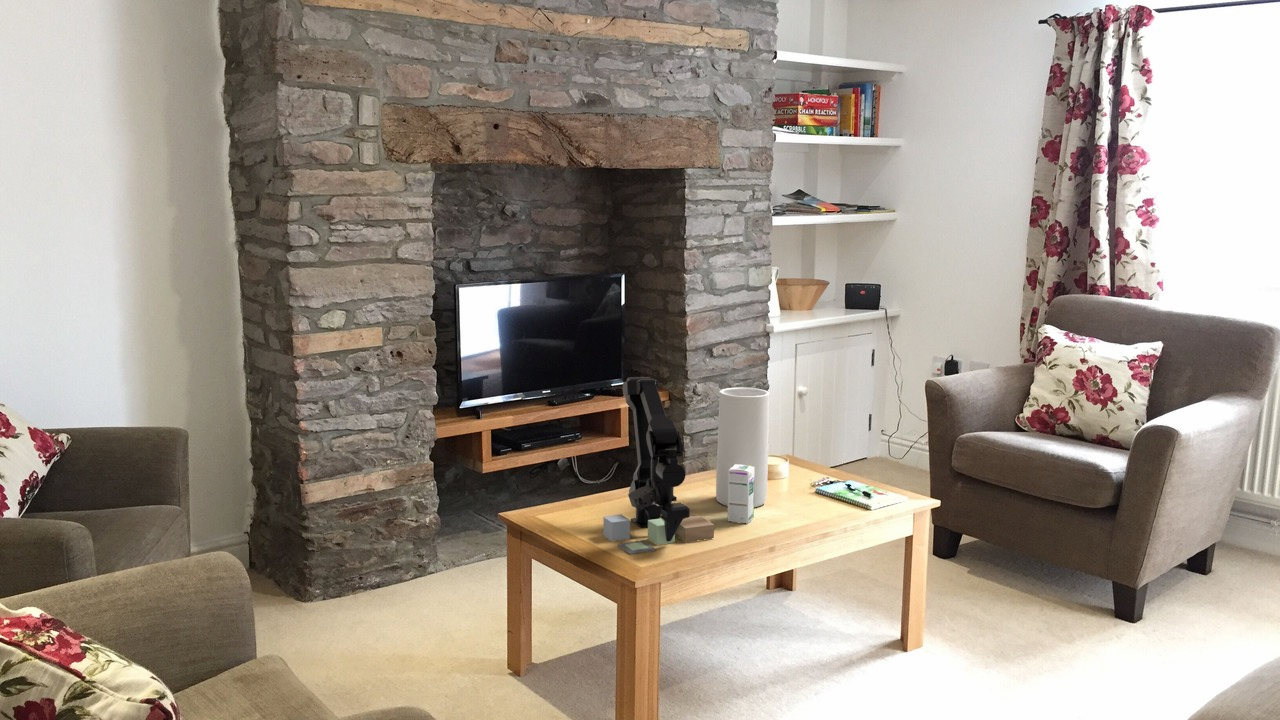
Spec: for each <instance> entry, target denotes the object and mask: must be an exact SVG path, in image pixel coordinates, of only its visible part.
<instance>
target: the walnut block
mask: <svg viewBox="0 0 1280 720" xmlns="http://www.w3.org/2000/svg"><path fill="white" fill-rule="evenodd" d="M675 537H677V539H679V540H680V541H682V542H683V541H684V543H686V542H687V543H692V542H693V541H695V542H698V541H697V540H702V541H705V540H704V539H710V540H713V539H712V538H714V539H715V524H714V523H712V522H711V521H709V520H707V519H706V518H705V517H703V516H702V515H695V516H690V517H689V518H685V519H683V520H682V522H681V523H680V525H679V527H678V528H677V530H676V532H675Z"/></svg>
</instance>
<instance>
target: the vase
mask: <svg viewBox="0 0 1280 720" xmlns="http://www.w3.org/2000/svg"><path fill="white" fill-rule="evenodd" d="M718 398H719V401H718V423H717V424H718V426H717V449H716V450H717V453H716V454H717V455H716V474H715V475H716V478H715V479H716V480H715V491H716V492H715V495H716V497H715V498H716V500H717V502H718V503H720V504H721V505H723V506H726V507H728V470H729V469H730V468H731V467H733V466H734V465H735V464H736V465H749V466H754V508H757V507H760V506H762V505H764V504H765V503H766V501H767V495H768V494H767V493H768V478H769V477H768V476H769V475H768V474H769V473H768V471H769V469H768V468H769V463H768V462H769V436H770V435H769V433H770V432H769V429H770V427H769V426H770V392H769V391H768V390H765V389H761V388H755V387H727V388H722V389H720V390H719V397H718Z"/></svg>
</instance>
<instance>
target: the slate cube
mask: <svg viewBox="0 0 1280 720" xmlns="http://www.w3.org/2000/svg"><path fill="white" fill-rule="evenodd" d="M602 527H603V529H602V531H603V532H602V533H603V535H604V536H603V537H605V538H606V537H607V538H608V539H607V538H606V539H607V540H609V541H610V542H617V541H616V540H619V541H623V540H624V539H625V540H630V539H631V519H630V518H628V517H626V516H625V515H623V514H621V513H619V514H615V515H605V516H603V526H602ZM625 540H624V541H625Z"/></svg>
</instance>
